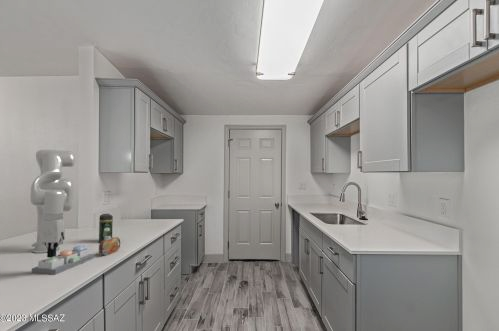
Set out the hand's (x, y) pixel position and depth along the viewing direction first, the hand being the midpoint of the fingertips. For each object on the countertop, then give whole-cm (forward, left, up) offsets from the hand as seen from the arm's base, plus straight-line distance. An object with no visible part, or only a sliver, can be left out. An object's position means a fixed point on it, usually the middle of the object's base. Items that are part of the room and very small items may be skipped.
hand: (51, 256), depth 126 cm
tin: (+9, +30, -7) cm, 32 cm away
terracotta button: (0, +8, -3) cm, 9 cm away
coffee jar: (-12, +55, -7) cm, 57 cm away
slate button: (0, +17, -3) cm, 17 cm away
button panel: (0, +8, -6) cm, 10 cm away
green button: (0, 0, -4) cm, 4 cm away
